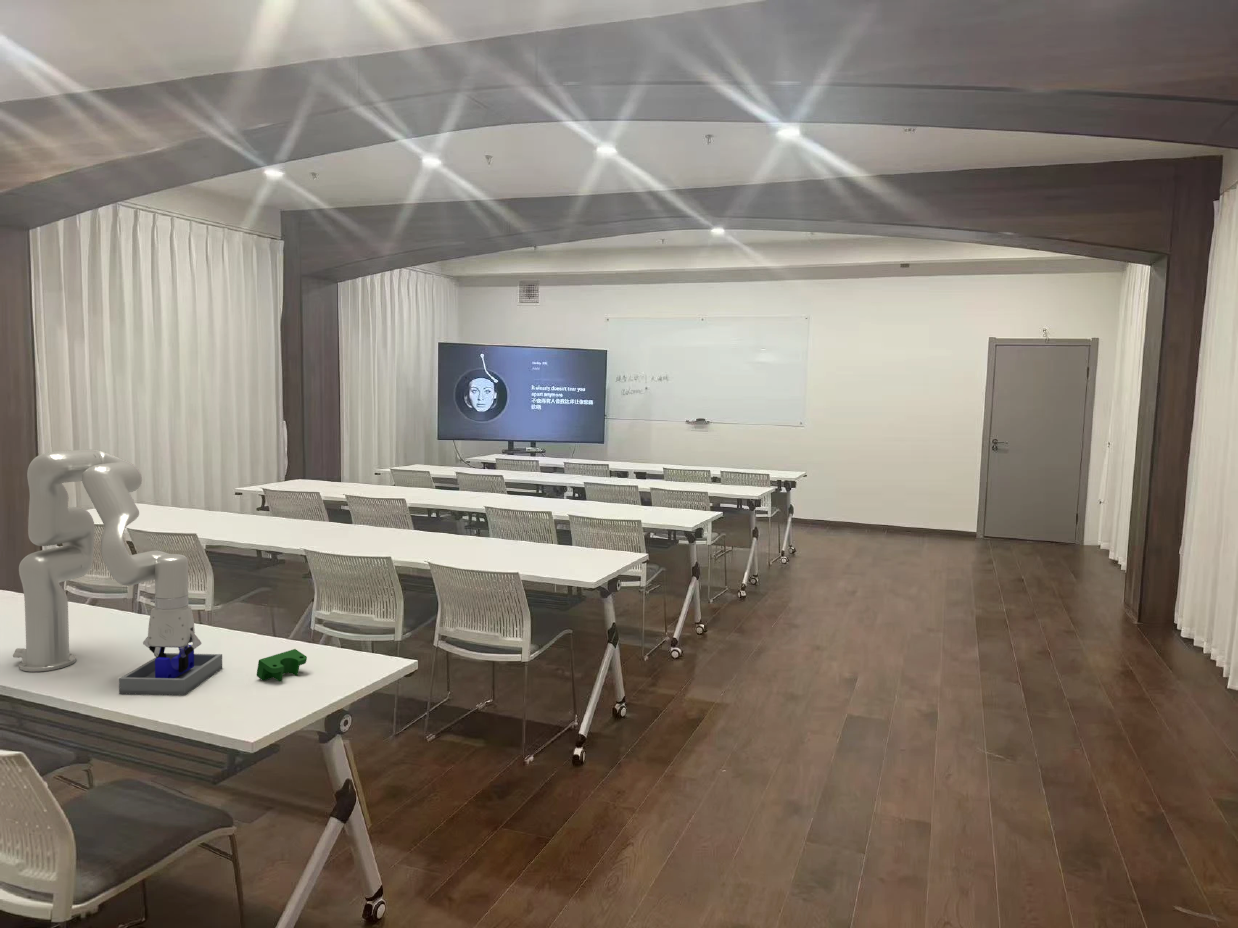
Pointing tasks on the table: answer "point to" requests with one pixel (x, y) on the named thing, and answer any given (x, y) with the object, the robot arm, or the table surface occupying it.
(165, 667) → the blue long angular piece
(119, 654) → the table surface
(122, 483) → the robot arm
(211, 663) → the gray tray
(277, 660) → the clamp
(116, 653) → the table surface
